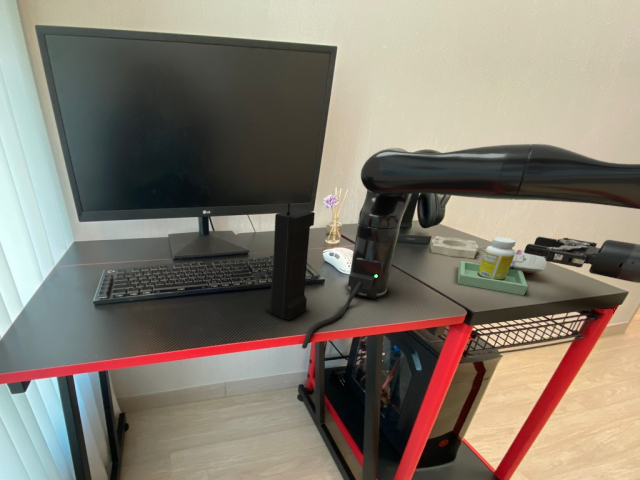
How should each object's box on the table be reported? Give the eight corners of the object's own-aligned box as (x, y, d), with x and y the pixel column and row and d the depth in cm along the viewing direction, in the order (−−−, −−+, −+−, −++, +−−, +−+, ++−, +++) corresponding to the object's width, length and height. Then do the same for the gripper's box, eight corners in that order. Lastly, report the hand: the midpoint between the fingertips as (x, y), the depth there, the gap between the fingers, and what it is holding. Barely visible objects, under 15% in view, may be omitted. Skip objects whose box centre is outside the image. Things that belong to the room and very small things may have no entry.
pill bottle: (503, 277, 88) (518, 238, 82) (504, 286, 83) (521, 244, 78) (475, 273, 91) (489, 234, 85) (475, 281, 86) (490, 240, 81)
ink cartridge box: (532, 274, 91) (471, 265, 98) (537, 257, 91) (475, 249, 97) (545, 271, 84) (477, 262, 90) (550, 252, 83) (482, 244, 89)
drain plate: (476, 259, 101) (478, 252, 100) (428, 252, 107) (430, 245, 106) (475, 247, 111) (477, 240, 110) (431, 242, 117) (433, 235, 116)
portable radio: (288, 300, 79) (294, 194, 67) (309, 308, 75) (319, 198, 63) (267, 312, 74) (270, 200, 62) (288, 321, 70) (295, 204, 58)
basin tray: (524, 295, 79) (528, 286, 78) (457, 283, 86) (460, 275, 85) (518, 278, 88) (521, 269, 87) (458, 268, 95) (461, 260, 94)
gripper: (641, 237, 69) (544, 223, 80) (634, 252, 61) (528, 234, 73) (623, 269, 73) (532, 252, 84) (614, 287, 65) (515, 266, 76)
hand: (530, 244), depth 78 cm, fingers open, 8 cm apart
